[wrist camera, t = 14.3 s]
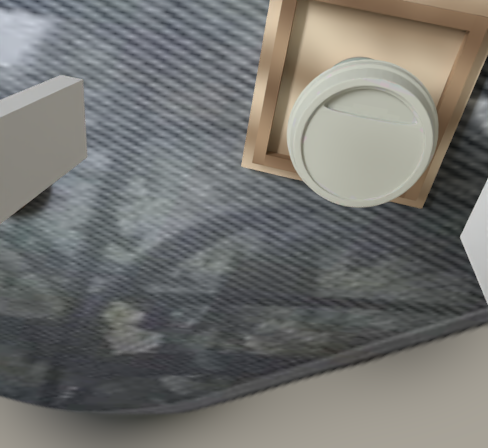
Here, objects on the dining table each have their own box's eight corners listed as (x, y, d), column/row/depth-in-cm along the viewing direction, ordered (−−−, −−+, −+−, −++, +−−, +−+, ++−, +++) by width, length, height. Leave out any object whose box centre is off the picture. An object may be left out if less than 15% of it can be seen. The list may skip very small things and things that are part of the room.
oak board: (278, -41, 32) (275, -42, 30) (504, 2, 31) (514, 4, 29) (243, 162, 40) (238, 170, 39) (420, 203, 39) (423, 214, 37)
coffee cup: (438, 92, 33) (480, 146, 23) (352, 168, 38) (356, 241, 27) (359, 9, 32) (366, 27, 21) (278, 98, 36) (252, 148, 26)
